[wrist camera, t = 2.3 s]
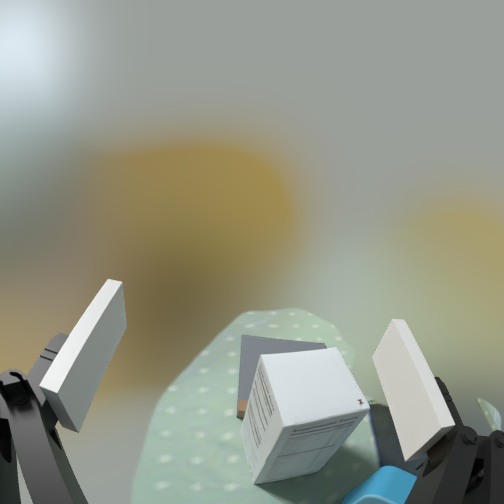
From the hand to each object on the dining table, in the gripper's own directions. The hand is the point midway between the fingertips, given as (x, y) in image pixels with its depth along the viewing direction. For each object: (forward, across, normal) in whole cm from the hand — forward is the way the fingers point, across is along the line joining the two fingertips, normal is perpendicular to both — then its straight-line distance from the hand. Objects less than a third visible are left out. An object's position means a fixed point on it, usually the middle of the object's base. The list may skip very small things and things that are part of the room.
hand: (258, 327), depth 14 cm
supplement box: (+8, +8, -30) cm, 32 cm away
